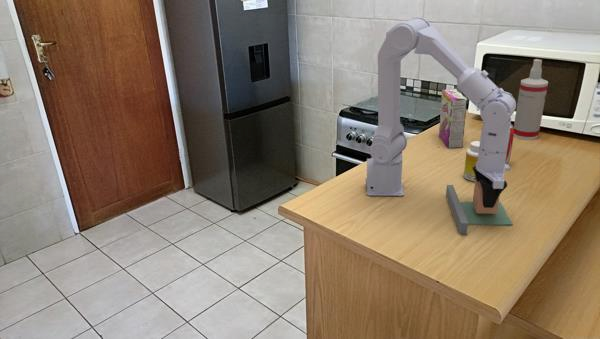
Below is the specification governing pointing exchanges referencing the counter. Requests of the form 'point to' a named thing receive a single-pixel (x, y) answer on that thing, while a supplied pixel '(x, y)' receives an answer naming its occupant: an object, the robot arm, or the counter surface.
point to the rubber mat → (485, 216)
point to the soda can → (509, 145)
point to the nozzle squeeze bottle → (530, 104)
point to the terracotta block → (479, 201)
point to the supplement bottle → (471, 160)
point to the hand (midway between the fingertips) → (485, 201)
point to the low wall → (457, 210)
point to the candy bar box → (452, 118)
